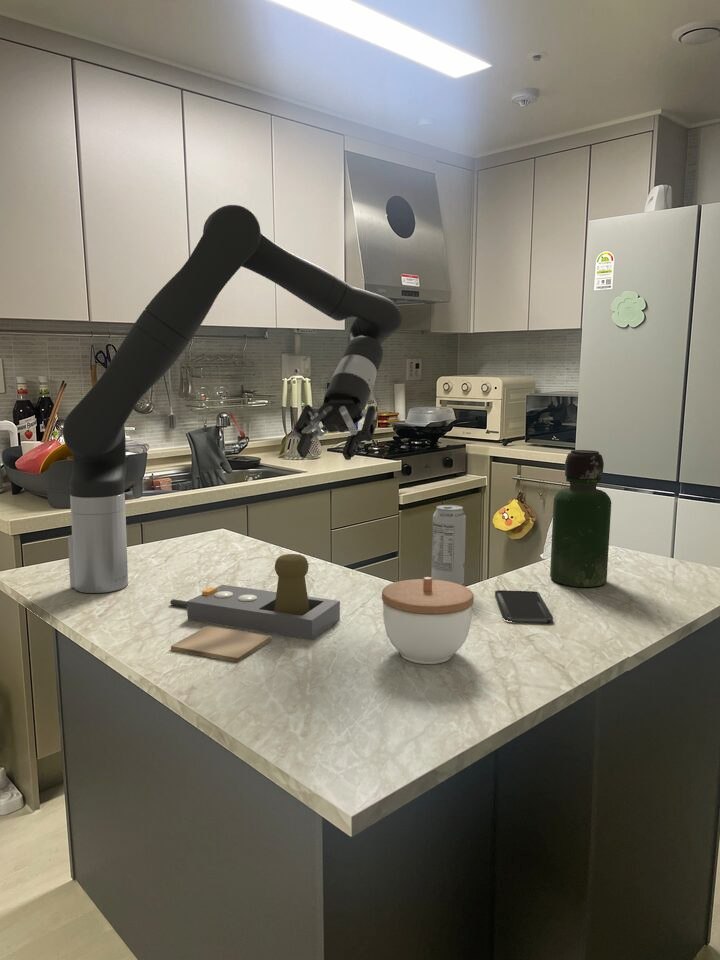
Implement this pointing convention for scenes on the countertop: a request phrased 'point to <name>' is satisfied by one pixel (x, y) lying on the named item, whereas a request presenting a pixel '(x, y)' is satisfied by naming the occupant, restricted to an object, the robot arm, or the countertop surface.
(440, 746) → the countertop surface
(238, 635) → the cork pad
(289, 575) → the pepper shaker
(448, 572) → the energy drink can
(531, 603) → the phone
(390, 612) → the lidded bowl
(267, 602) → the charging strip
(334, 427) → the robot arm
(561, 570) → the green bottle
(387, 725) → the countertop surface
